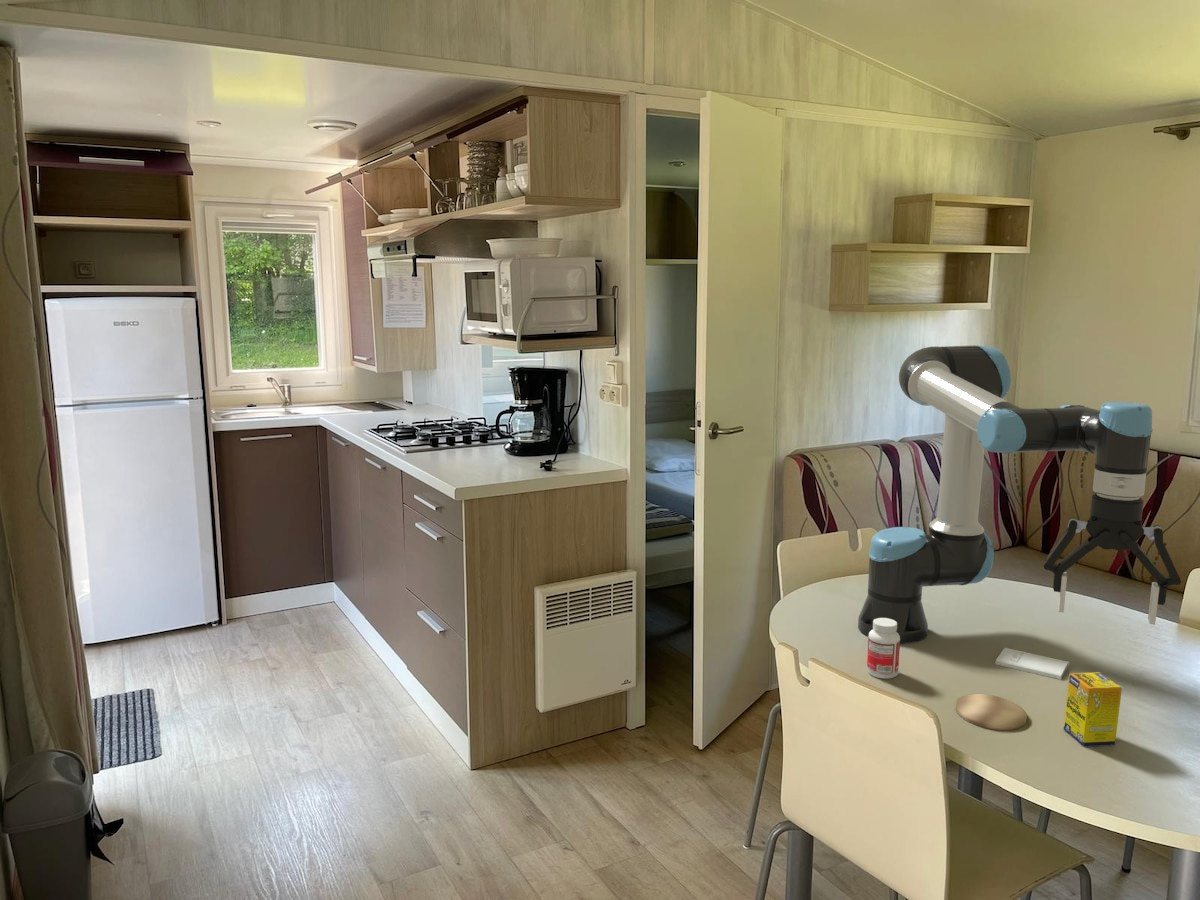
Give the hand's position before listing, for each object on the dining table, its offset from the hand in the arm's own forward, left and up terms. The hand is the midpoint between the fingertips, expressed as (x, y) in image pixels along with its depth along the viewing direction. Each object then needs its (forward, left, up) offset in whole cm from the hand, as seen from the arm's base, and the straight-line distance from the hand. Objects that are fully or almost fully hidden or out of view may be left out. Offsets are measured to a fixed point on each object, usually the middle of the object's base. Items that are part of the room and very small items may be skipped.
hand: (1105, 615), depth 153 cm
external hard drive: (-11, +27, -23) cm, 37 cm away
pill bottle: (-38, +9, -22) cm, 45 cm away
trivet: (-17, 0, -22) cm, 28 cm away
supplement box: (-1, -1, -22) cm, 22 cm away
